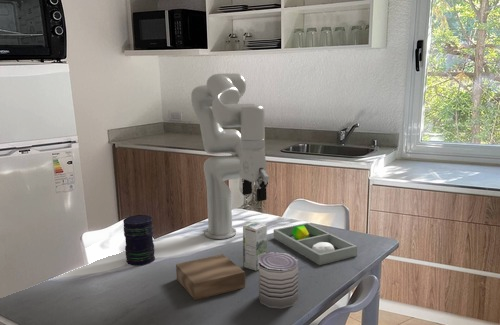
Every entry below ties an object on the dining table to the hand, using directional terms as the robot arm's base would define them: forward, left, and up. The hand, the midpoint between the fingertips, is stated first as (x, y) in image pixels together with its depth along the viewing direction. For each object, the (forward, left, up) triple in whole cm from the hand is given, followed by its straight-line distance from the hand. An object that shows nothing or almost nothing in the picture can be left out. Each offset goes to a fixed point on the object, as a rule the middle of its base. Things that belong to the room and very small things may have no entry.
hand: (254, 197), depth 148 cm
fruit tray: (-5, +27, -24) cm, 36 cm away
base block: (+4, -18, -24) cm, 30 cm away
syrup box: (0, 0, -24) cm, 24 cm away
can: (+23, -5, -24) cm, 34 cm away
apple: (-12, +27, -24) cm, 38 cm away
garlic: (+2, +26, -24) cm, 36 cm away
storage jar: (-25, -32, -24) cm, 47 cm away
